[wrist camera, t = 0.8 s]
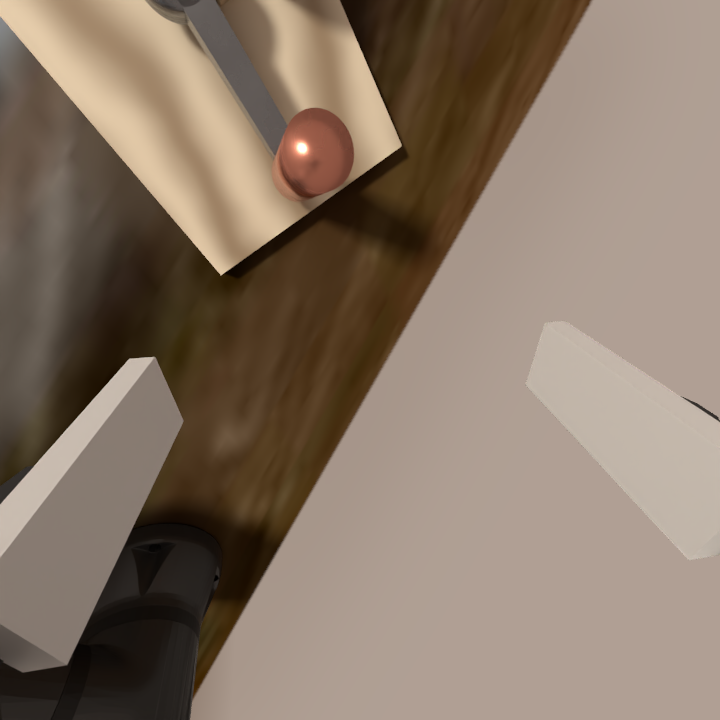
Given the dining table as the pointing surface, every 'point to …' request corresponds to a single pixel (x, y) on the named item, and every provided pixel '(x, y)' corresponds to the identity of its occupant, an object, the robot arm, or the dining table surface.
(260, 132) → the lever
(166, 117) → the tapered cream board
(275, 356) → the dining table surface
